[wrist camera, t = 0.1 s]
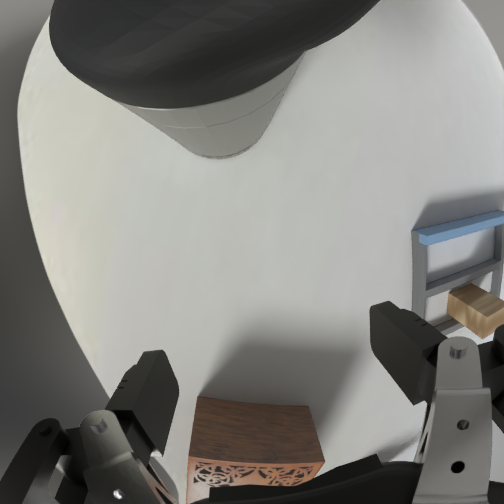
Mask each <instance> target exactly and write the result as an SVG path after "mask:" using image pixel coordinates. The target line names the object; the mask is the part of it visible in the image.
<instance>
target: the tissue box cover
mask: <svg viewBox="0 0 504 504" xmlns="http://www.w3.org/2000/svg"><path fill="white" fill-rule="evenodd" d="M324 463H325V459H324V456H323V453H322V449H321V446H320V443H319V439H318V436H317V433H316V430H315V426H314V423H313V420H312V417H311V413H310V410H309V407H308V406H284V405H267V404H254V403H244V402H234V401H226V400H219V399H212V398H205V397H199V396H198V397H197V403H196V409H195V415H194V422H193V428H192V435H191V442H190V449H189V456H188V472H187V494H186V504H190V503H192V502H195V501H198V500H201V499H204V498H208V497H209V489H210V487H222V486H237V485H247V484H254V485H270V486H296V485H299V484H302V483H304V482H306V481H309V480H311V479H313V478H314V477H315V475H316V474H317V473H318V471H319V470H320V468H321V467H322V466H323V464H324Z"/></svg>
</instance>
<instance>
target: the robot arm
mask: <svg viewBox="0 0 504 504" xmlns="http://www.w3.org/2000/svg"><path fill="white" fill-rule="evenodd" d="M379 1H380V0H55V1H54V4H53V7H52V10H51V15H50V22H49V34H50V40H51V45H52V47H53V49H54V52H55V54H56V56H57V57H58V59H59V60H60V62H61V63H62V64H63V65H64V66H65V67H66V68H67V70H68V71H69V72H70V73H72V74H73V75H74V76H76V77H77V78H78V79H80V80H81V81H82V82H84V83H85V84H87V85H89V86H91V87H92V88H94V89H96V90H97V91H99V92H100V93H102V94H104V95H105V96H107V97H109V98H111V99H112V100H114V101H116V102H117V103H119V104H120V105H122V106H124V107H125V108H127V109H128V110H130V111H131V112H133V113H135V114H136V115H138V116H139V117H141V118H142V119H144V120H145V121H147V122H148V123H150V124H151V125H153V126H154V127H156V128H157V129H159V130H160V131H162V132H163V133H165V134H166V135H168V136H169V137H170V138H172V139H173V140H175V141H176V142H178V143H179V144H180V145H182V146H183V147H185V148H186V149H188V150H189V151H191V152H193V153H195V154H197V155H199V156H202V157H206V158H212V159H223V158H230V157H233V156H236V155H239V154H241V153H243V152H245V151H247V150H248V149H250V148H251V147H252V146H253V145H254V144H256V143H257V141H258V140H259V139H260V138H261V136H262V135H263V133H264V131H265V129H266V127H267V125H268V124H269V122H270V120H271V118H272V116H273V114H274V112H275V110H276V108H277V106H278V104H279V102H280V100H281V98H282V96H283V95H284V93H285V91H286V89H287V87H288V85H289V83H290V81H291V79H292V77H293V76H294V74H295V71H296V69H297V67H298V66H299V64H300V62H301V60H302V58H303V56H304V54H305V53H306V51H307V50H309V49H312V48H314V47H316V46H319V45H321V44H323V43H325V42H327V41H329V40H331V39H332V38H334V37H336V36H338V35H339V34H341V33H342V32H344V31H346V30H347V29H349V28H350V27H351V26H352V25H354V24H355V23H356V22H357V21H359V20H360V19H361V18H362V17H363V16H364V15H365V14H366V13H367V12H368V11H369V10H371V9H372V8H373V7H374V6H375V5H376V4H377V3H378V2H379ZM370 343H371V348H372V351H373V353H374V355H375V356H376V357H377V359H378V360H379V361H380V363H381V364H382V365H383V366H384V368H385V369H386V370H387V372H388V373H389V374H390V375H391V377H392V378H393V379H394V381H395V382H396V383H397V384H398V386H399V387H400V388H401V390H402V391H403V392H404V394H405V395H406V396H407V398H408V399H409V400H410V402H411V403H412V404H413V405H416V404H418V403H420V402H422V401H424V400H425V401H426V403H427V407H426V411H425V416H424V421H423V426H422V431H421V435H420V439H419V444H418V447H417V451H416V454H415V457H414V460H413V462H408V461H392V462H383V463H381V462H380V460H379V458H378V456H377V454H374V455H371V456H369V457H366V458H363V459H360V460H357V461H354V462H351V463H348V464H345V465H342V466H338V467H336V468H334V469H332V470H330V471H328V472H326V473H324V474H322V475H320V476H317V477H315V478H313V479H311V480H309V481H306V482H304V483H302V484H299V485H296V486H270V485H254V484H247V485H237V486H222V487H210V489H209V497H208V498H204V499H201V500H198V501H195V502H192V503H190V504H504V483H500V482H495V481H489V477H490V467H491V455H492V420H493V421H494V422H495V423H496V424H497V426H498V427H499V428H500V429H501V431H502V432H503V433H504V324H502V325H500V326H498V327H497V328H496V330H495V333H494V337H493V341H490V342H486V343H483V344H479V345H477V344H476V343H475V342H474V341H473V340H471V339H469V338H466V337H460V336H457V337H451V338H447V337H446V336H445V335H443V334H442V333H441V332H440V331H438V330H437V329H436V328H434V327H433V326H432V325H430V324H428V322H426V321H425V320H424V319H422V318H421V317H420V316H418V315H417V314H416V313H414V312H412V311H409V310H406V309H399V308H398V307H397V306H396V305H394V304H393V303H392V302H390V301H386V302H383V303H379V304H376V305H373V306H371V307H370ZM178 397H179V386H178V382H177V379H176V377H175V375H174V372H173V370H172V368H171V365H170V363H169V360H168V358H167V356H166V353H165V352H164V351H163V350H155V351H146V352H143V354H142V356H141V357H140V359H139V361H138V363H137V365H134V366H132V367H131V368H130V369H129V370H128V371H127V372H126V373H125V375H124V376H123V378H122V380H121V382H120V383H119V385H118V387H117V389H116V390H115V392H114V394H113V395H112V397H111V399H110V401H109V403H108V404H107V406H106V408H105V410H99V411H95V412H93V413H91V414H89V415H87V416H86V417H85V418H84V419H83V420H82V421H81V423H80V426H79V427H78V428H71V429H64V428H63V427H62V425H61V424H60V422H59V421H58V420H56V419H54V418H47V419H44V420H42V421H40V422H38V423H37V424H36V425H35V426H34V427H33V428H32V430H31V431H30V433H29V434H28V436H27V437H26V439H25V440H24V442H23V444H22V445H21V447H20V448H19V450H18V452H17V453H16V455H15V457H14V458H13V460H12V462H11V463H10V465H9V467H8V468H7V470H6V472H5V474H4V476H3V477H2V479H1V481H0V504H179V503H178V502H177V501H176V500H175V499H174V497H173V496H172V494H171V493H170V492H169V490H168V489H167V488H166V486H165V485H164V483H163V482H162V480H161V479H160V478H159V476H158V475H157V473H156V472H155V470H154V468H153V467H152V466H151V464H150V463H149V460H150V457H151V456H155V457H163V455H164V451H165V447H166V443H167V439H168V435H169V431H170V427H171V423H172V419H173V416H174V412H175V408H176V405H177V401H178ZM55 467H56V468H57V469H58V470H59V471H60V472H61V473H62V474H63V475H64V477H63V479H62V482H61V484H60V486H59V489H58V491H57V494H56V496H55V499H54V498H53V497H52V496H51V494H50V493H49V490H48V482H49V480H50V478H51V476H52V473H53V471H54V469H55Z"/></svg>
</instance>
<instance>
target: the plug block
mask: <svg viewBox="0 0 504 504" xmlns="http://www.w3.org/2000/svg"><path fill="white" fill-rule="evenodd" d="M447 314H449V315H450V316H452V317H453V318H454V319H456V320H457V321H459V322H460V323H461V324H463V325H464V326H465V327H467V328H468V329H469V330H471V331H472V332H473V333H475V334H476V335H477V336H479V337H480V338H481V339H484V338H485V337H487V336H489V335H490V334H492V333H493V332H495V330H496V328H497V327H498V326H500V325H502V324H504V301H503V300H501V299H500V298H498V297H496V296H494V295H492V294H490V293H489V292H487V291H485V290H483V289H481V288H479V287H477V286H476V285H474V284H472V283H471V284H469V285H467V286H465V287H462V288H460V289H457V290H455V291H453V292H450V293H449V294H448V305H447Z"/></svg>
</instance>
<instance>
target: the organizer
mask: <svg viewBox="0 0 504 504" xmlns="http://www.w3.org/2000/svg"><path fill="white" fill-rule="evenodd" d="M493 226H495V251H494V258H493V259H491V260H489V261H486V262H484V263H481V264H479V265H476V266H474V267H471V268H469V269H466V270H464V271H461V272H459V273H456V274H453V275H451V276H448V277H445V278H442V279H440V280H437V281H434V282H431V283H428V284H426V245H431V244H435V243H438V242H442V241H446V240H449V239H453V238H456V237H460V236H463V235H467V234H470V233H473V232H477V231H480V230H484V229H487V228H490V227H493ZM411 233H412V258H413V289H412V312H414V313H416V314H417V315H418V316H420V317H421V318H422V319H424V310H425V299H426V298H429V297H431V296H434V295H437V294H439V293H442V292H444V291H447V290H449V289H452V288H454V287H457V286H459V285H462V284H464V283H466V282H469V281H471V280H473V279H476V278H478V277H480V276H482V275H485V274H487V273H489V272H491V271H493V276H492V285H491V292H490V294H492V295H494V296H496V297H498V298H499V296H500V290H501V282H502V274H503V264H504V211H499V210H498V211H494V212H490V213H486V214H482V215H477V216H473V217H469V218H465V219H461V220H456V221H452V222H448V223H444V224H439V225H435V226H431V227H427V228H422V229H418V230H414V231H411ZM462 327H464V325H463V324H461V323H460V322H459V321H457V320H456V319H452V320H450V321H447V322H445V323H443V324H441V325H438V326H436V327H434V328H436V329H437V330H438V331H440V332H441V333H442V334H443V335H448V334H450V333H452V332H454V331H456V330H458V329H460V328H462Z"/></svg>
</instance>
